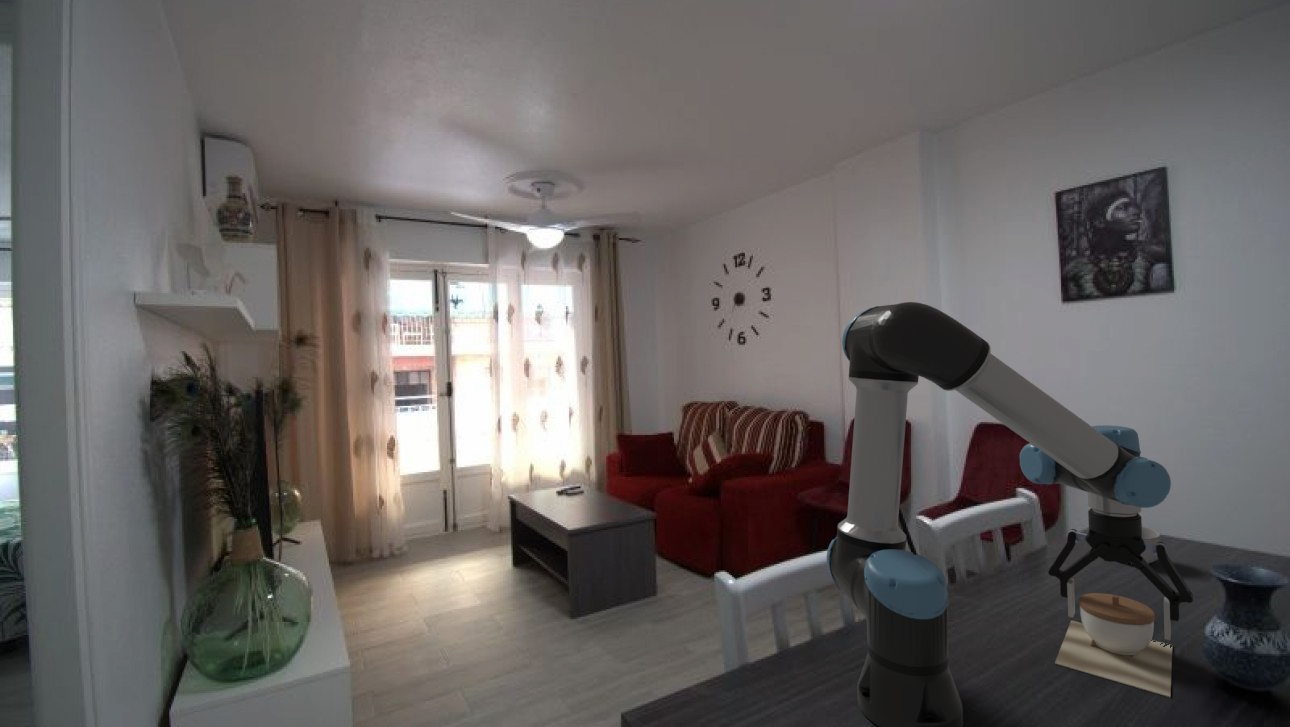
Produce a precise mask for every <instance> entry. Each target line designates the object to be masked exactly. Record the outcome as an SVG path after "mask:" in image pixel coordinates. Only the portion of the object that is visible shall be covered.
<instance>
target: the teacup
mask: <svg viewBox="0 0 1290 727" xmlns="http://www.w3.org/2000/svg"><path fill="white" fill-rule="evenodd" d="M1142 539H1143V541H1144V542H1145V543H1157V542H1161V533H1160V532H1159V531H1157V530H1155V529H1153V528H1150V527H1147V526H1143V525H1142ZM1141 556H1142V557H1143V558H1144V559H1145V561H1146V562H1147V563H1150V564H1151V563H1153V562H1155V561H1157V560H1158V557H1156V556H1153V555H1152V554H1151V552H1150V551H1149V550H1145V551H1144V552H1143V553H1142V554H1141Z"/></svg>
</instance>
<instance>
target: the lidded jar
mask: <svg viewBox="0 0 1290 727" xmlns="http://www.w3.org/2000/svg"><path fill="white" fill-rule="evenodd" d="M1078 604H1079V614H1080V620H1081V623H1082V624H1083V627H1084V629H1085V631H1086V632H1087V634H1088V635H1089V636H1090V637H1091V638H1092V639H1093V640H1094V641H1095V643H1096V645H1097V646H1099V647H1100V648H1102V649H1104V650H1106V651H1109V652H1111V653H1115V654H1119V655H1127V656H1131V655H1136V654H1138V652H1139V651H1141V650H1143V649H1145V648H1146V647H1147V646H1148V645H1149V643H1150V642H1151V640H1153V635H1154V629H1155V621H1156V620H1155V619H1156V617H1155V616H1156V614H1155V611H1154V610H1153V609H1152V608H1151V607H1149V606H1148V605H1146V604H1144V603H1142V602H1140V601H1137V600H1135V599H1131V598H1129V597H1126V596H1120V595H1117V594H1116V595H1115V594H1112V593H1111V594H1110V593H1100V592H1099V593H1098V592H1092V593H1091V592H1090V593H1085V594H1082V595H1081V596H1080V597H1079V598H1078Z"/></svg>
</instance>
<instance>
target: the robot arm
mask: <svg viewBox="0 0 1290 727" xmlns="http://www.w3.org/2000/svg"><path fill="white" fill-rule="evenodd" d="M841 343H842V350H843V353H844V356H845V357H846V358H847V360H848V361H849V367H848V368H849V369H848V380H849V381H850V382H851V383H852V385H854V387H855V390H856V391H855V392H856V395H855V405H854V406H855V408H854V421H853V423H854V424H853V435H852V450H851V461H850V475H849V477H850V478H849V490H848V503H847V516H846V518H844V519H843V520H841V521H840V522H839V523H838V524H837V531H836V537H835V538H834V539H832V540H831V542H830V543H829V545H828V548H827V550H826V551H827V552H826V566H827V570H828V572H829V575H830V577H831V578H832V580H833V582H834V584H835V586H836V587H837V588H838V590H840V591H841V593H842V594H843V595H844V596H846V597H847V598H848V599H849V601H851V603H852V604H853V605H854V606H856V608H857V609H858V610H859V612H860V613H862V614H863V616H864V618H865V619H866V636H867V638H866V640H867V654H866V659H865V660H864V664H863V667H862V669H861V673H860V676H859V677H858V678H859V679H858V681H857V687H856V689H857V690H856V692H857V705H858V707H859V709H860V711H861V712H862V714H863V715H864V716H865V717H866V718H867V719H868V720H869V721H871V723H873V724H874V725H876V726H877V727H963V726H964V708H963V702H962V701H961V696H960V694H959V691H958V688H957V686H956V684H955V681H954V678H953V675H952V673H951V670H950V665H949V660H950V659H949V610H948V608H949V607H948V606H949V600H950V598H949V591H948V588H947V586H948V585H947V580H946V576H945V574H944V573H943V571H942V569H941V568H940V567H939V565H938V564H936V563H935V562H934V561H933V560H931V559H929V558H927V557H925V556H923V555H921V554H914V552H911V551H907V550H906V547H907V535H906V533H904V532H905V531H903V530H902V529H901V528H900V527H899V515H900V514H899V513H900V512H899V511H900V502H901V487H902V473H903V459H904V446H905V434H906V424H907V423H906V422H907V409H908V396H909V392H910V391H911V390H912V389H914V388H915V387H916V386H917V385H918V384H919V377H921V378H923V379H926V380H928V381H929V382H932V383H933V384H935V385H936V386H938V387H939V388H940V389H942V390H944V391H947V392H953V391H956V392H958V393H959V394H960V395H962V396H963V397H965V398H966V399H967V400H969V401H970V402H971V403H974V405H976V406H977V407H978V408H980V409H982V410H983V411H984V412H985V413H988V415H990V416H991V417H992V418H994V419H995V420H996V421H998V422H1000V423H1001V424H1003V425H1004V426H1005V427H1007V428H1009V429H1010V430H1011V431H1012V432H1014V433H1015V434H1016V435H1018V436H1020V437H1021V438H1022V439H1024V440H1025V441H1027V442H1028V443H1027V444H1025V445H1024V446H1023V447H1022V449H1021V450H1020V452H1019V466H1020V469H1021V472H1022V473H1023V475H1024V477H1025V478H1026V479H1027V480H1028V481H1029V482H1031V483H1033V484H1037V485H1048V486H1049V485H1053V484H1060V485H1064V486H1068V487H1071V488H1074V489H1076V490H1080V491H1083V492H1085V493H1087V505H1088V507H1089V508H1090V509H1088V511H1087V513H1088V515H1087V516H1088V532H1087V533H1083V532H1080V531H1078V530H1077V529H1075V528H1071V529H1070V530H1069V531H1068V533H1067V540H1066V543H1065V544H1064V546H1063V548H1062V549H1061V551H1060V552H1059V554H1058V555H1057V556H1056V559H1055V560H1054V562H1053V563H1052V564H1051V566H1050V568H1049V569H1048V575H1050V576H1051V577H1055V578H1057V579H1058V581H1059V583H1060V584H1059V585H1060V595H1061V598H1067V616H1068V617H1069V618H1074V616H1075V613H1076V602H1075V600H1076V597H1075V579H1074V578H1072V577H1074V576H1075V575H1076V574H1078V573H1079V572H1080V571H1082V570H1083V569H1084V568H1085V567H1087V566H1088V565H1090V564H1091V563H1092V562H1094V561H1096V560H1097V559H1098V558H1100V559H1102V560H1103V561H1104V562H1109V563H1111V562H1116V563H1118V564H1121V565H1127V564H1128V563H1132V564H1133V565H1132V564H1131V565H1132V566H1134V567H1135V568H1136V570H1139V571H1140V573H1142V574H1143V575H1144V576H1145V577H1146V578H1147V580H1148V581H1149V582H1151V583H1152V585H1153V586H1154V587H1155V588H1156V589H1157V590H1158V591H1160V592H1159V593H1161V594H1162V595H1163V622H1164V623H1163V627H1164V640H1166V641H1171V636H1172V634H1171V633H1172V631H1171V629H1172V627H1171V626H1172V625H1171V621H1173V622H1174V621H1175V622H1179V620H1180V605H1181V603H1188V604H1191V603H1193V600H1194V598H1193V597H1194V594H1193V593H1192V591H1191V589H1190V588H1189V587H1188V585H1187V583H1186V581H1185V580H1184V579H1183V577H1182V575H1181V574H1180V572H1179V570H1177V568H1176V566H1175V565H1174V563H1173V562H1172V560H1171V558H1170V556H1169V555H1168V552H1167V545H1166V544H1165V542H1162V541H1160V542H1157V543H1145V542H1144V541H1143V539H1142V526H1143V525H1142V524H1143V523H1142V521H1143V520H1142V516H1141V515H1140V513H1141V512H1142V509H1148V508H1149V509H1150V508H1154V507H1156V506H1158V505H1160V504H1161V503H1163V502H1164V501H1165V499H1166V498H1167V496H1168V495H1169V493H1170V491H1171V487H1172V482H1171V477H1170V474H1169V472H1168V470H1167V469H1166V468H1165V467H1164V466H1163V465H1162V464H1160V463H1159V462H1158V461H1155V460H1151V459H1148V458H1147V457H1144V456H1141V453H1142V452H1141V448H1140V447H1141V446H1140V441H1139V440H1140V439H1139V434H1138V431H1136V430H1135V429H1133V428H1130V427H1128V426H1127V427H1126V426H1122V425H1121V426H1119V425H1093V426H1092V425H1090V424H1089V423H1088V422H1086V421H1085V420H1083V419H1082V418H1080V417H1079V416H1078V415H1077V414H1075V413H1074V412H1072V411H1071V410H1069V409H1068V408H1067V407H1065V406H1064V405H1063V404H1061V403H1060V402H1058V401H1057V400H1056V399H1054V398H1053V397H1052V396H1050V395H1049V394H1047V393H1046V392H1045V391H1043V390H1042V389H1041V388H1039V387H1038V386H1036V385H1035V384H1034V383H1032V382H1031V381H1029V380H1028V379H1027V378H1025V377H1024V376H1023V375H1021V374H1020V373H1019V372H1017V371H1016V370H1014V369H1013V368H1012V367H1010V366H1009V365H1008V364H1006V363H1005V362H1003V361H1002V360H1000V359H999V358H998V357H997V356H995V355H994V354H992V353H991V345H990V343H989V342H987V341H986V340H985V339H983V337H981V336H979V335H978V334H977V333H975V332H974V331H972V330H971V329H970V328H969V327H967V326H965V325H964V324H962V323H961V322H959V321H958V320H957V319H955V318H953V316H950V315H948V314H947V313H945V312H943V311H942V310H939V309H937V308H935V307H934V306H932V305H928V304H925V303H921V302H917V301H916V302H915V301H908V302H900V303H896V304H895V303H894V304H887V305H886V304H885V305H876V306H874V307H870V308H868V309H866V310H863V311H861V312H859V313H857V314H856V315H855V316H854V317H852V318H851V319H850V320H849V321H848V323H847V325H846V326H845V329H844V330H843V335H842V341H841ZM1082 541H1086V543H1087V544H1088V545H1089V546H1090V547H1091V549H1089V550H1088V551H1087V552H1086V553H1085V554H1083V555H1082V556H1081V557H1079V559H1077V560H1075V562H1073V563H1072V564H1070V565H1069V566H1068V567H1067V568H1066V569H1064V570H1061V567H1062V566H1063V565H1064V562H1066V560H1067V559H1068V557H1069V555H1070V554H1071V553H1072V551H1073V550H1074V548H1075V546H1076V545H1080V544H1081V543H1082ZM1145 550H1149V551H1150V552H1151V554H1152V555H1153V556H1156V557H1158V559H1157V560H1158V561H1159V564H1160V565H1161V567H1162V568H1163V570H1164V571H1165V573H1166V575H1167V576H1168V578H1169V579H1170V581H1171V582H1172V584H1173V585H1174V587H1175V588H1176V590H1177V591H1178V592H1176V590H1174V589H1173V588H1172V586H1170V584H1169V583H1167V582H1166V581H1165V580H1164V579H1163V577H1162V576H1161V575H1160V574H1159V573H1157V572H1156V570H1155V569H1154V568H1153V567H1152V566H1151V565H1150V564H1148V563H1147V562H1146V561H1145V559H1144V558H1143V557H1142V556H1141V554H1142V553H1143V552H1144V551H1145ZM1128 565H1129V564H1128Z"/></svg>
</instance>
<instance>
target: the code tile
mask: <svg viewBox="0 0 1290 727" xmlns="http://www.w3.org/2000/svg"><path fill="white" fill-rule="evenodd" d="M1153 641H1154V639H1152V641H1151V642H1150V643H1149V645H1148V646H1147V647H1146V648H1145V649H1143V650H1141V651H1139V652H1138V654H1136V655H1131V656H1127V655H1119V654H1115V653H1111V652H1109V651H1106V650H1104V649H1102V648H1100V647H1099V646H1097V645H1096V643H1095V641H1094V640H1093V639H1092V638H1091V637H1090V636H1089V635H1088V634H1087V632H1086V631H1085V629H1084V627H1083V624H1082V622H1079V621H1075V620H1070V623H1069V626H1068V628H1067V630H1066V633H1065V636H1064V638H1063V641H1062V644H1061V646H1060V648H1059V651H1058V654H1057V656H1056V658H1055V662H1054V665H1058V666H1061V667H1065V668H1067V669H1072V670H1073V671H1074V670H1075V671H1078V672H1080V673H1081V672H1082V673H1085V674H1088V675H1090V676H1091V675H1092V676H1096V677H1099V678H1101V679H1105V680H1109V681H1112V682H1116V683H1118V684H1123V685H1125V686H1130V687H1132V688H1135V689H1139V690H1143V691H1146V692H1149V693H1153V694H1156V695H1160V696H1163V697H1167V698H1171V693H1172V691H1171V688H1172V668H1173V667H1172V666H1173V663H1172V662H1173V646H1172V647H1171V648H1170V645H1171V644H1169V643H1168V644H1169V645H1167V646H1165V647H1163V646H1164V645H1165V642H1162V641H1157V640H1155V641H1156V642H1153ZM1161 643H1163V644H1161ZM1160 644H1161V645H1160Z"/></svg>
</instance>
